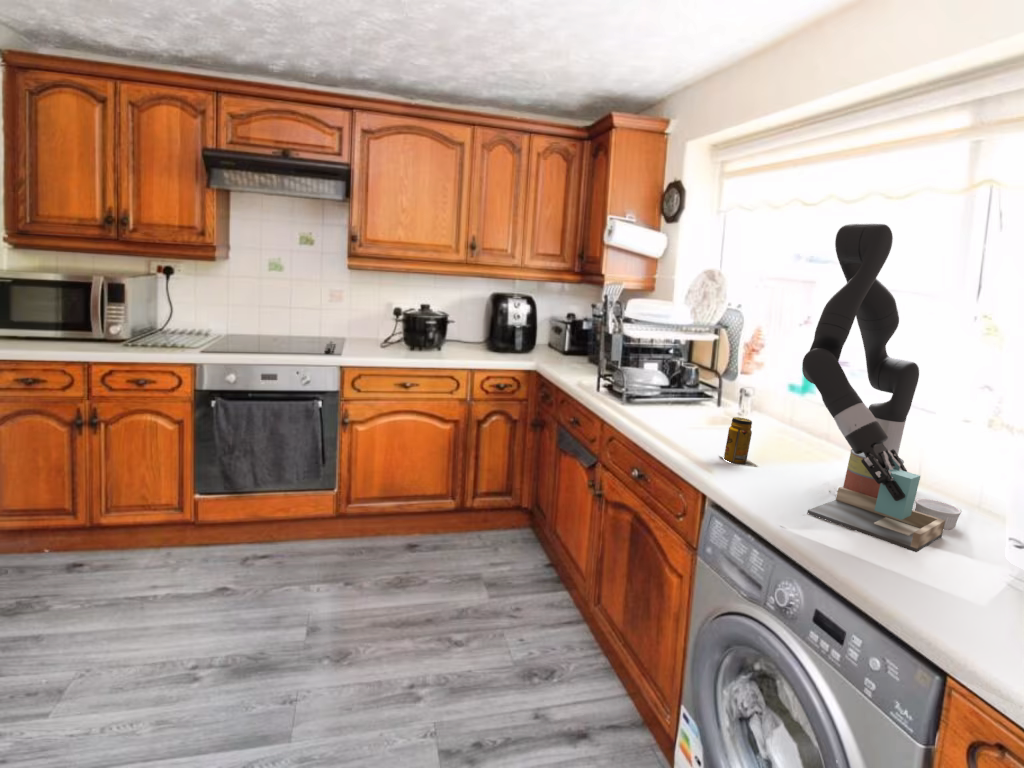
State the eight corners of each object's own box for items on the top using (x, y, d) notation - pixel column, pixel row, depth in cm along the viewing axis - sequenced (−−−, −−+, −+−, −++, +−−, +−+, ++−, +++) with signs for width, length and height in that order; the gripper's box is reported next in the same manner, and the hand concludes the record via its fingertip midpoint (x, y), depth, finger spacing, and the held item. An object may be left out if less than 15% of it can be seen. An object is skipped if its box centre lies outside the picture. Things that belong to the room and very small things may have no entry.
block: (883, 506, 148) (893, 467, 146) (910, 515, 144) (920, 475, 142) (874, 510, 144) (883, 470, 143) (901, 519, 140) (911, 478, 139)
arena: (837, 502, 159) (840, 486, 158) (941, 537, 143) (945, 520, 142) (807, 513, 148) (810, 497, 147) (916, 552, 132) (920, 534, 131)
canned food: (891, 516, 153) (903, 466, 151) (837, 502, 159) (848, 454, 156) (893, 504, 162) (904, 457, 160) (843, 491, 168) (853, 445, 166)
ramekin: (958, 535, 146) (963, 516, 145) (911, 523, 150) (916, 505, 149) (955, 523, 154) (959, 505, 153) (910, 512, 158) (915, 495, 157)
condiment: (718, 456, 188) (725, 415, 186) (746, 458, 189) (754, 417, 187) (728, 464, 181) (736, 421, 179) (758, 467, 182) (766, 424, 180)
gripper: (862, 421, 141) (911, 494, 135) (887, 417, 151) (933, 485, 144) (831, 439, 146) (877, 510, 140) (858, 433, 156) (901, 499, 149)
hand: (905, 496), depth 142 cm, fingers closed on block, 5 cm apart
